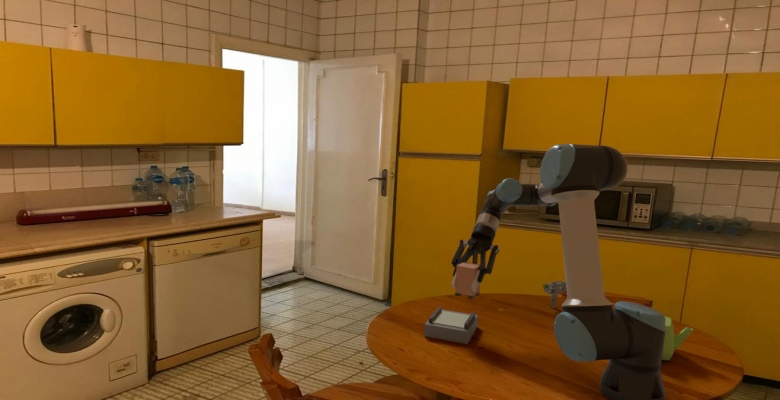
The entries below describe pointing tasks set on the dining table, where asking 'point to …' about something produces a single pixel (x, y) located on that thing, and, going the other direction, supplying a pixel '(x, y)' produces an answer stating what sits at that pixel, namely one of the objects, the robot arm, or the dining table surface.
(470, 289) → the block
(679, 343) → the teapot
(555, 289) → the mechanical component
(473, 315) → the step
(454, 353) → the dining table surface
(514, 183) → the robot arm
